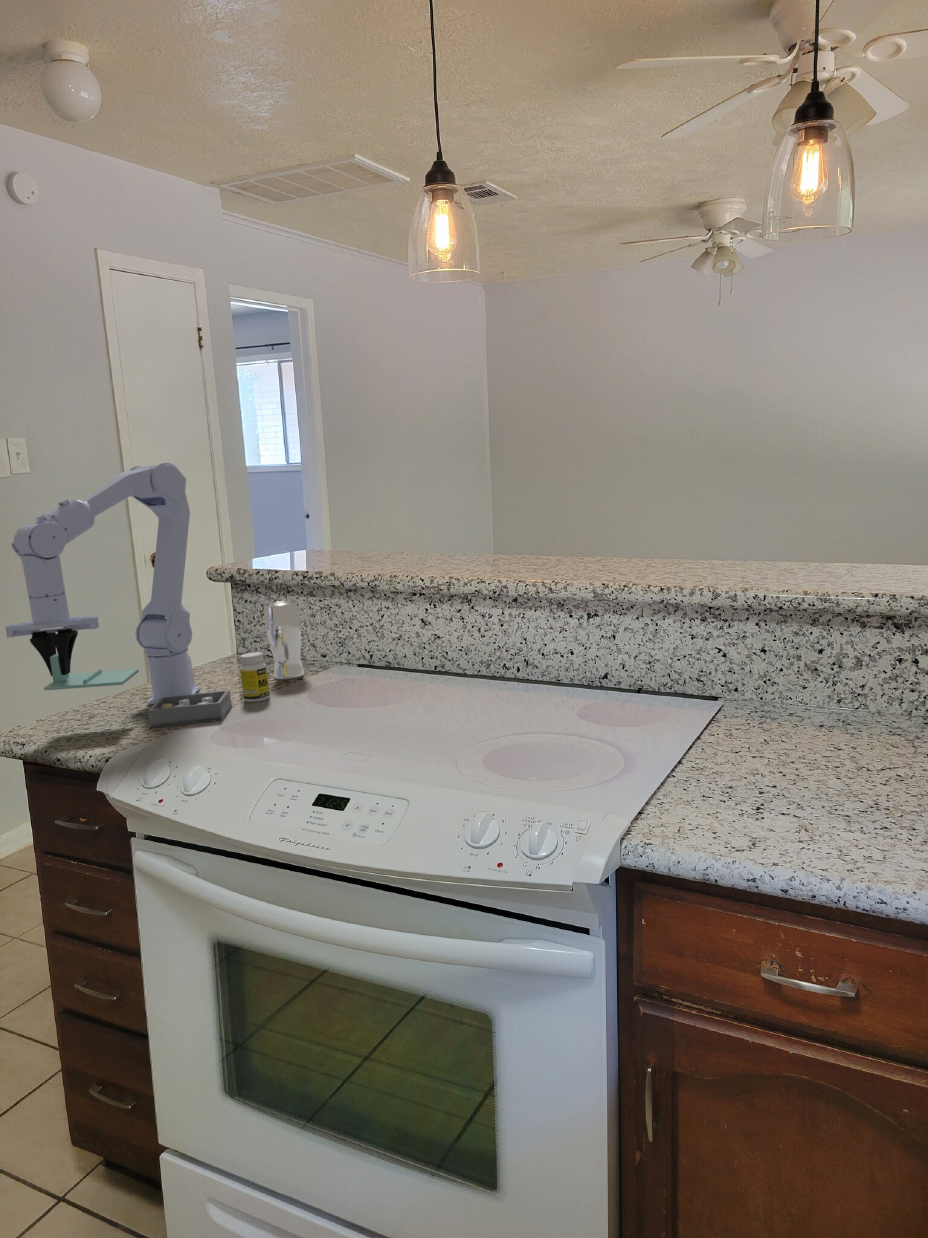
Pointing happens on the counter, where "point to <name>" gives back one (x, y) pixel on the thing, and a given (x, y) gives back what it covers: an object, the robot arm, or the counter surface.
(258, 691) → the supplement bottle
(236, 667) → the counter surface
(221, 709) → the tub
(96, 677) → the lid
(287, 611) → the beer glass
